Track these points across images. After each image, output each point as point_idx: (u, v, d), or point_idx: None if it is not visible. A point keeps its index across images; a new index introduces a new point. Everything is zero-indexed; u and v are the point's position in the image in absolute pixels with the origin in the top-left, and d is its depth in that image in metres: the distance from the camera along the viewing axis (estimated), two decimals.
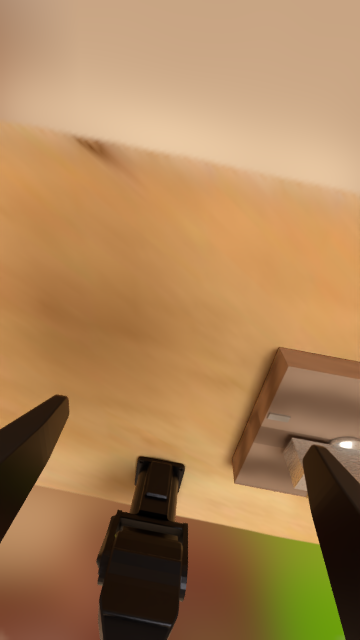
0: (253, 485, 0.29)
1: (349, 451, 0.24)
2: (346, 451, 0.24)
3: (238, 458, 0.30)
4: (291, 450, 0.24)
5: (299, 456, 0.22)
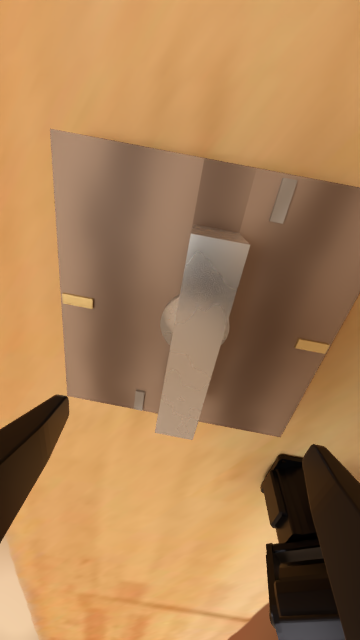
0: (286, 417, 0.19)
1: None
2: None
3: None
4: None
5: None
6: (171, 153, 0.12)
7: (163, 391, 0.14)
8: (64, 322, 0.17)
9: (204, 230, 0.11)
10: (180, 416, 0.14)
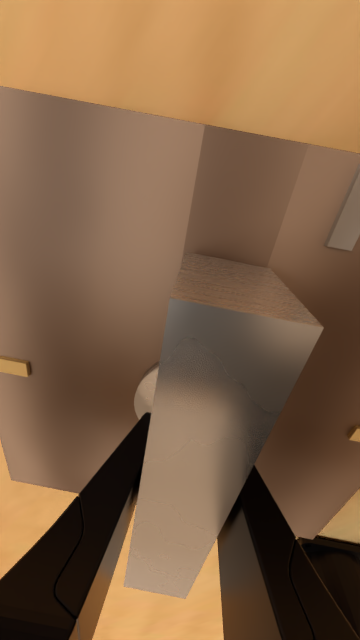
0: (324, 519, 0.13)
1: None
2: None
3: None
4: None
5: None
6: (139, 115, 0.06)
7: (132, 545, 0.08)
8: None
9: (205, 272, 0.05)
10: (164, 574, 0.08)
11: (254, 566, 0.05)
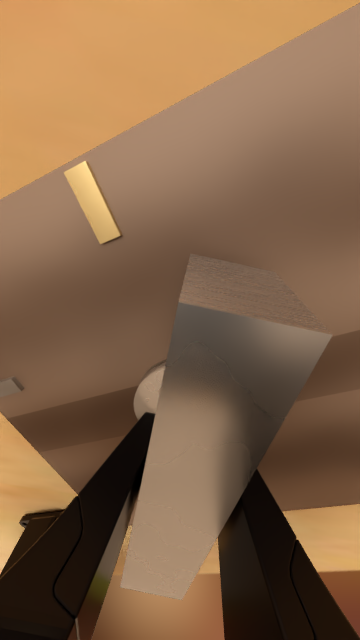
0: None
1: None
2: None
3: None
4: None
5: None
6: None
7: (130, 547, 0.08)
8: (21, 194, 0.07)
9: (211, 275, 0.05)
10: (161, 576, 0.08)
11: (255, 566, 0.05)
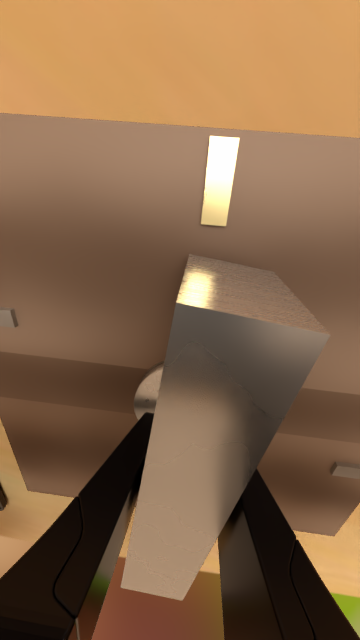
0: (63, 493, 0.14)
1: None
2: None
3: None
4: None
5: None
6: None
7: (130, 547, 0.08)
8: (147, 130, 0.06)
9: (209, 275, 0.05)
10: (162, 576, 0.08)
11: (254, 566, 0.05)
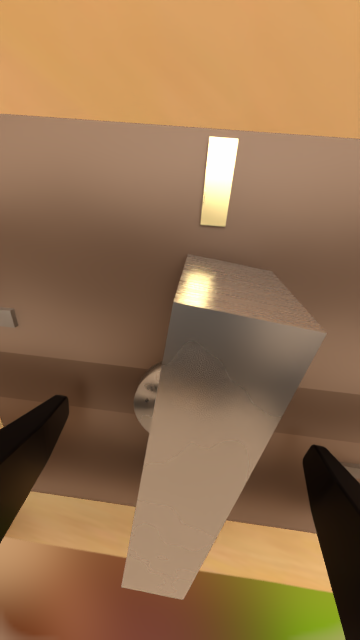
0: (63, 492, 0.14)
1: None
2: None
3: None
4: None
5: None
6: None
7: (130, 546, 0.08)
8: (146, 130, 0.06)
9: (207, 275, 0.05)
10: (162, 575, 0.08)
11: None
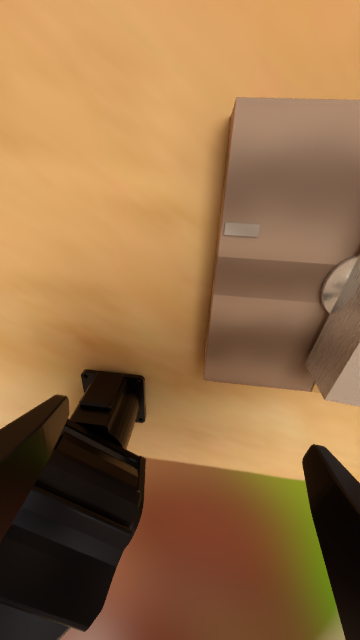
0: (231, 380, 0.20)
1: (342, 296, 0.15)
2: (340, 301, 0.15)
3: (206, 344, 0.20)
4: None
5: (315, 381, 0.16)
6: None
7: (354, 353, 0.13)
8: None
9: None
10: None
11: None
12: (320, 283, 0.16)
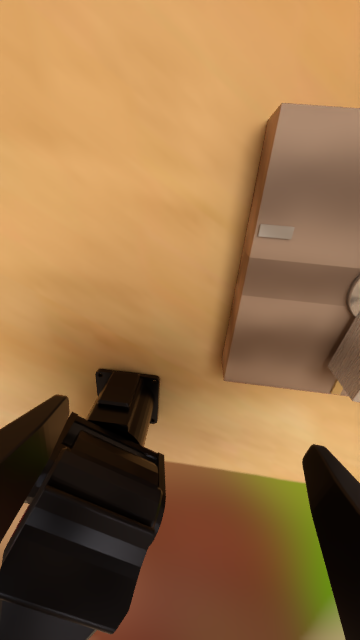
0: (251, 381, 0.20)
1: None
2: None
3: (227, 345, 0.21)
4: None
5: (341, 383, 0.16)
6: None
7: None
8: None
9: None
10: None
11: None
12: (348, 286, 0.16)
